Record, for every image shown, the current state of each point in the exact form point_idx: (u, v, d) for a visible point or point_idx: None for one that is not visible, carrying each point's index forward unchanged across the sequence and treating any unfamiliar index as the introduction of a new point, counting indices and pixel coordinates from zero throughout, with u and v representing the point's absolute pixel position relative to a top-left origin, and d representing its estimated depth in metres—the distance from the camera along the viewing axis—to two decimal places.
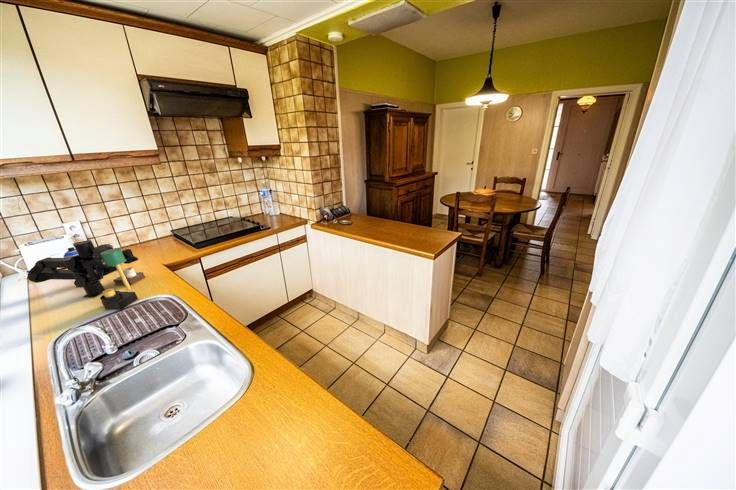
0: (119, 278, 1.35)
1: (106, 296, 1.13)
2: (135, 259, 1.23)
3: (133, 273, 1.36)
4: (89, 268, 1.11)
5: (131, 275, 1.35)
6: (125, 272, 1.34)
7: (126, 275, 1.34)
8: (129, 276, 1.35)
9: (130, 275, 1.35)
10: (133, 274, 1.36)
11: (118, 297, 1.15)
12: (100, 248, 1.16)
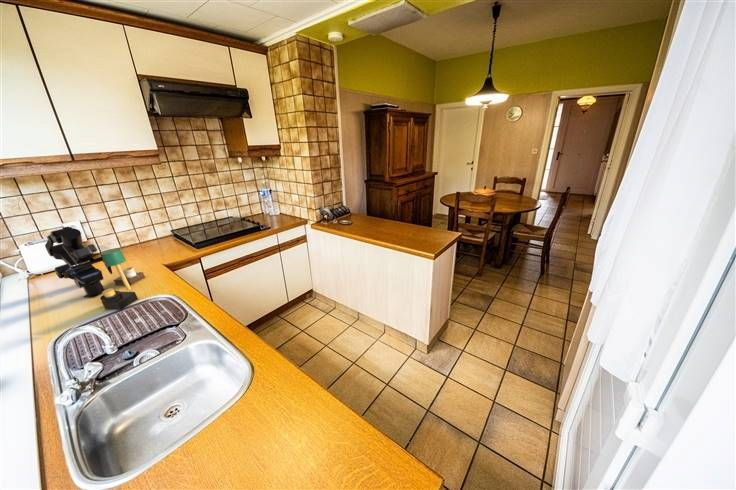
0: (119, 278, 1.35)
1: (106, 296, 1.13)
2: None
3: (133, 273, 1.36)
4: (57, 271, 1.07)
5: (131, 275, 1.35)
6: (125, 272, 1.34)
7: (126, 275, 1.34)
8: (129, 276, 1.35)
9: (130, 275, 1.35)
10: (133, 274, 1.36)
11: (118, 297, 1.15)
12: (80, 254, 1.10)
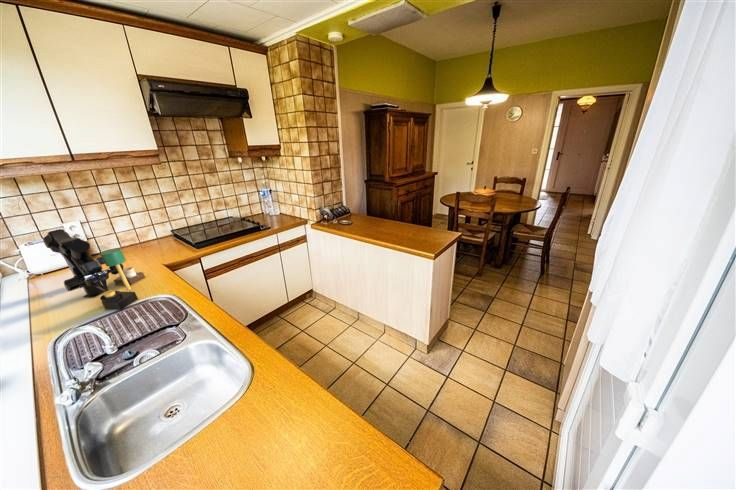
0: (119, 278, 1.35)
1: (107, 297, 1.13)
2: None
3: (133, 273, 1.36)
4: (66, 285, 1.07)
5: (131, 275, 1.35)
6: (125, 272, 1.34)
7: (126, 275, 1.34)
8: (129, 276, 1.35)
9: (130, 275, 1.35)
10: (133, 274, 1.36)
11: (118, 297, 1.15)
12: (89, 267, 1.10)
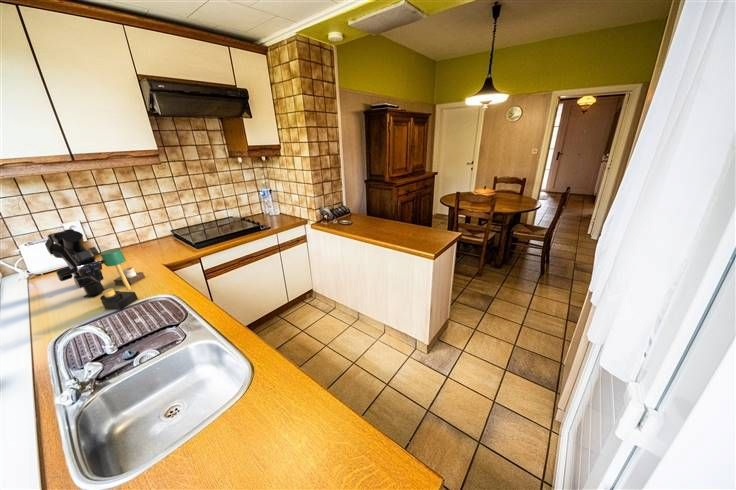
0: (119, 278, 1.35)
1: (106, 296, 1.13)
2: None
3: (133, 273, 1.36)
4: (58, 274, 1.07)
5: (131, 275, 1.35)
6: (125, 272, 1.34)
7: (126, 275, 1.34)
8: (129, 276, 1.35)
9: (130, 275, 1.35)
10: (133, 274, 1.36)
11: (118, 297, 1.15)
12: (82, 257, 1.10)
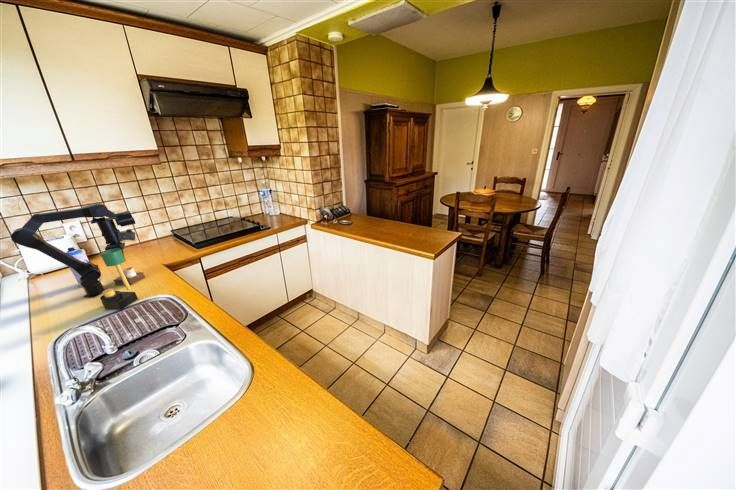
0: (119, 278, 1.35)
1: (106, 296, 1.13)
2: None
3: (133, 273, 1.36)
4: (121, 248, 1.24)
5: (131, 275, 1.35)
6: (125, 272, 1.34)
7: (126, 275, 1.34)
8: (129, 276, 1.35)
9: (130, 275, 1.35)
10: (133, 274, 1.36)
11: (118, 297, 1.15)
12: None
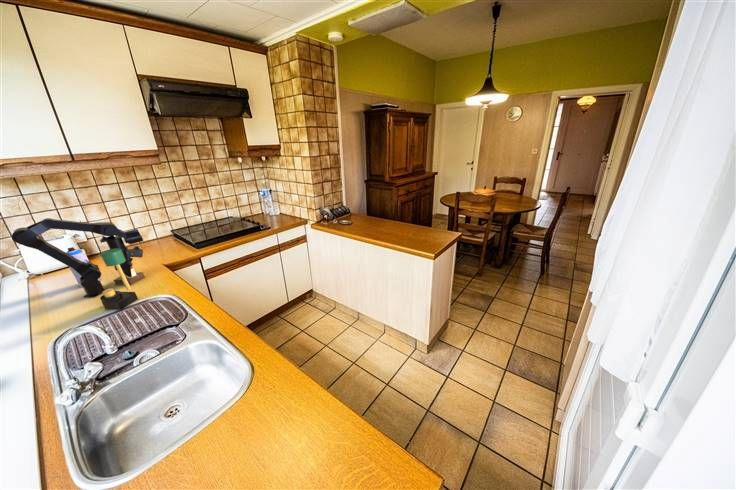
0: (119, 278, 1.35)
1: (106, 296, 1.13)
2: None
3: (133, 273, 1.36)
4: (129, 266, 1.28)
5: None
6: None
7: (126, 275, 1.34)
8: None
9: None
10: (133, 274, 1.36)
11: (118, 297, 1.15)
12: (142, 255, 1.37)
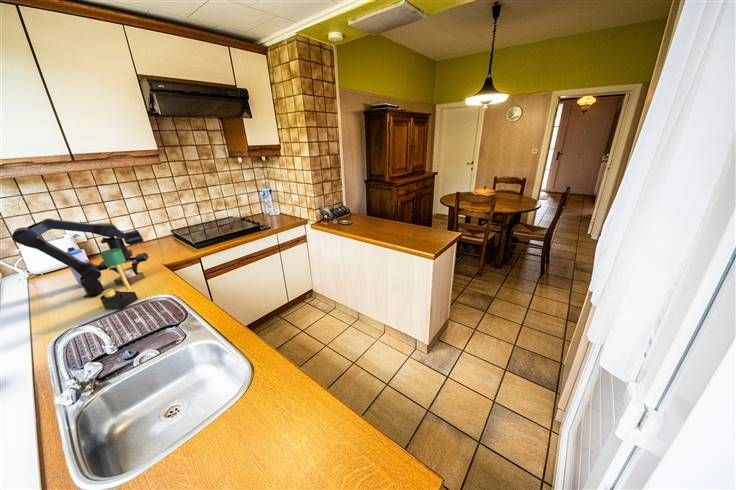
0: (119, 278, 1.35)
1: (106, 296, 1.13)
2: None
3: None
4: None
5: None
6: (132, 270, 1.35)
7: (133, 273, 1.36)
8: None
9: None
10: None
11: (118, 297, 1.15)
12: None
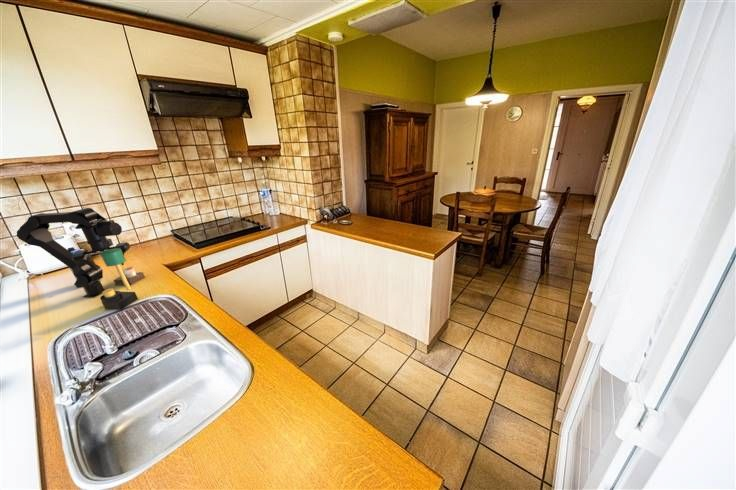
0: (119, 278, 1.35)
1: (106, 296, 1.13)
2: (96, 268, 1.21)
3: None
4: (129, 246, 1.27)
5: (135, 272, 1.38)
6: (132, 270, 1.35)
7: (133, 273, 1.36)
8: (135, 273, 1.37)
9: (135, 273, 1.38)
10: None
11: (118, 297, 1.15)
12: None
